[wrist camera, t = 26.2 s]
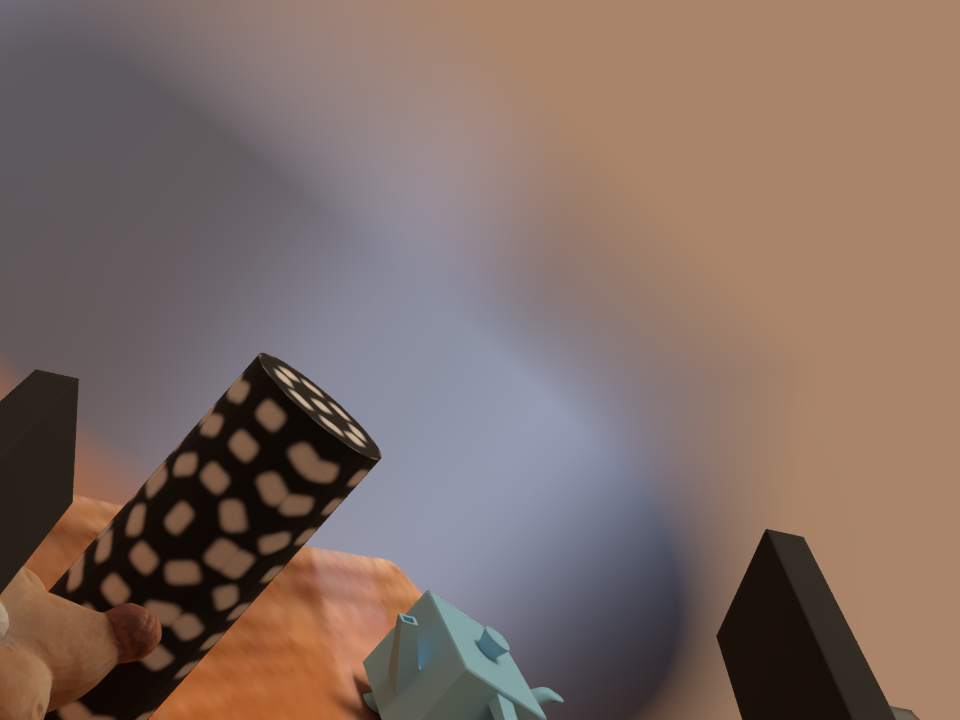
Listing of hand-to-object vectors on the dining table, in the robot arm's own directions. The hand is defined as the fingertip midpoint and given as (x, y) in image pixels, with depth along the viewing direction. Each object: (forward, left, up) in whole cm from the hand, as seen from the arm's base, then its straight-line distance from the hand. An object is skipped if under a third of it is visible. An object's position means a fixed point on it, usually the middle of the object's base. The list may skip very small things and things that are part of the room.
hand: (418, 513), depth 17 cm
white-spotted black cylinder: (-5, +29, -25) cm, 39 cm away
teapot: (+17, +53, -25) cm, 61 cm away
